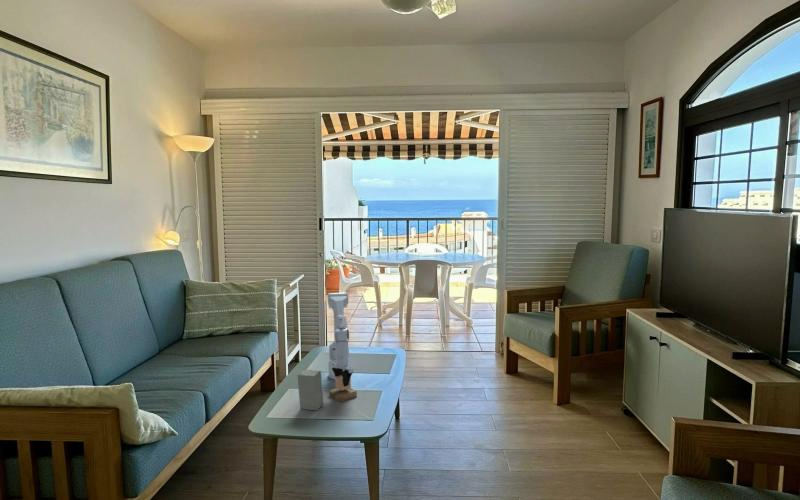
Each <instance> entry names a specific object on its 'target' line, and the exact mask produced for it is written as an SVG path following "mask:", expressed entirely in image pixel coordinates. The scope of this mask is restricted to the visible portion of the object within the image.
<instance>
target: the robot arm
mask: <svg viewBox="0 0 800 500" xmlns="http://www.w3.org/2000/svg"><path fill="white" fill-rule="evenodd" d="M327 303H328V308H329V309H331V310H332V311H333V334H334V335H333V338H334V340H333V341H332V342H331V343H330V344H329V346H328V347H329V348H328V359H329V361H328V374H327V375H326V377H328V378H330V379H332V380H334V381H335V377H336V376H340V375H342V377H343V384H344V386H348V385H349V381H350V377H352V375H353V373H354V367H352V366H351V364H349V363H350V362H349V359H350V349H349V342H350V330H349V327H348V322H347V321H348V320H347V318H346V316H344V310H345V309H346V308H347V307H348V304H349V293H348V292H347V291H345V292H328V293H327Z"/></svg>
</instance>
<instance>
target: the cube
mask: <svg viewBox="0 0 800 500" xmlns="http://www.w3.org/2000/svg"><path fill="white" fill-rule="evenodd" d="M351 377H352V376H351ZM351 377H350V381H349V385H348V386H344V384H343V377H342V375H340V376H336V377H335V380H334V381H335V382H334V383H335V384H334V385H335V388H338V389H340V390H345V389H348V388H352V384H351V383H352V380H351Z"/></svg>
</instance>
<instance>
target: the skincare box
mask: <svg viewBox="0 0 800 500" xmlns="http://www.w3.org/2000/svg"><path fill="white" fill-rule="evenodd" d="M296 376H297V385H298V394H299V395H298V397H299V407H300V408H299V409H301V410H307V411H308V410H309V411H310V410H311V411H317V410H319V409H320V408H321V407H322V406H324V394H323V385H322V371H321V370H318V369H317V370H314V369H306V368H305V369H303V370H302V371H301V372H299V373H298V374H297V375H296Z"/></svg>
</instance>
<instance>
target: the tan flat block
mask: <svg viewBox="0 0 800 500" xmlns="http://www.w3.org/2000/svg"><path fill="white" fill-rule="evenodd" d="M357 391H358V390H356V389H354V388H352V387H351V388H348V389H345V390H340V389H338V388H336V387H335V388H333V389H329V390H328V395H329V397H330V398H333V399H334V400H336V401H337V402H340V403H341V402H344V401H347V400H350V399H354V398H356V397H358V395H357V393H358V392H357Z"/></svg>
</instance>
